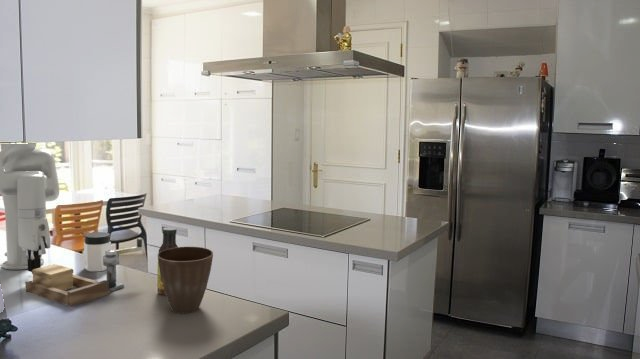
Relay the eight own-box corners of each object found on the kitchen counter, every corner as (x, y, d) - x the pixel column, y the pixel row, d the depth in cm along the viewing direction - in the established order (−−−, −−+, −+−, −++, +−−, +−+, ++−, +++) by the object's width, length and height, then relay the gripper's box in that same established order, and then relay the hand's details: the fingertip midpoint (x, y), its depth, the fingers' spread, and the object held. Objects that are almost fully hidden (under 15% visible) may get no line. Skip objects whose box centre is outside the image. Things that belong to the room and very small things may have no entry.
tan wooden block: (32, 288, 150) (31, 269, 149) (55, 282, 157) (54, 263, 156) (50, 294, 146) (50, 274, 145) (73, 287, 152) (73, 268, 151)
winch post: (99, 288, 152) (98, 257, 151) (113, 284, 157) (112, 253, 155) (110, 291, 150) (109, 259, 149) (123, 287, 154) (123, 255, 153)
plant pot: (224, 307, 140) (224, 252, 139) (182, 323, 128) (182, 264, 126) (188, 295, 149) (188, 243, 147) (146, 310, 136) (145, 254, 135)
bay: (25, 291, 148) (25, 278, 147) (63, 280, 158) (63, 268, 158) (71, 306, 137) (70, 292, 137) (108, 293, 148) (108, 281, 148)
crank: (139, 249, 160) (139, 237, 160) (144, 250, 158) (144, 239, 158) (103, 255, 152) (103, 243, 151) (108, 257, 150) (107, 245, 149)
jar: (114, 269, 172) (113, 235, 171) (89, 273, 167) (88, 238, 165) (106, 263, 179) (105, 230, 177) (82, 266, 174) (81, 233, 172)
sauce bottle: (159, 296, 147) (158, 231, 145) (155, 290, 152) (155, 227, 150) (181, 293, 150) (181, 230, 148) (177, 287, 155) (176, 225, 153)
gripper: (58, 214, 153) (60, 271, 155) (29, 209, 160) (32, 264, 162) (34, 217, 146) (36, 277, 148) (5, 212, 153) (8, 269, 155)
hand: (34, 270), depth 155 cm, fingers closed
